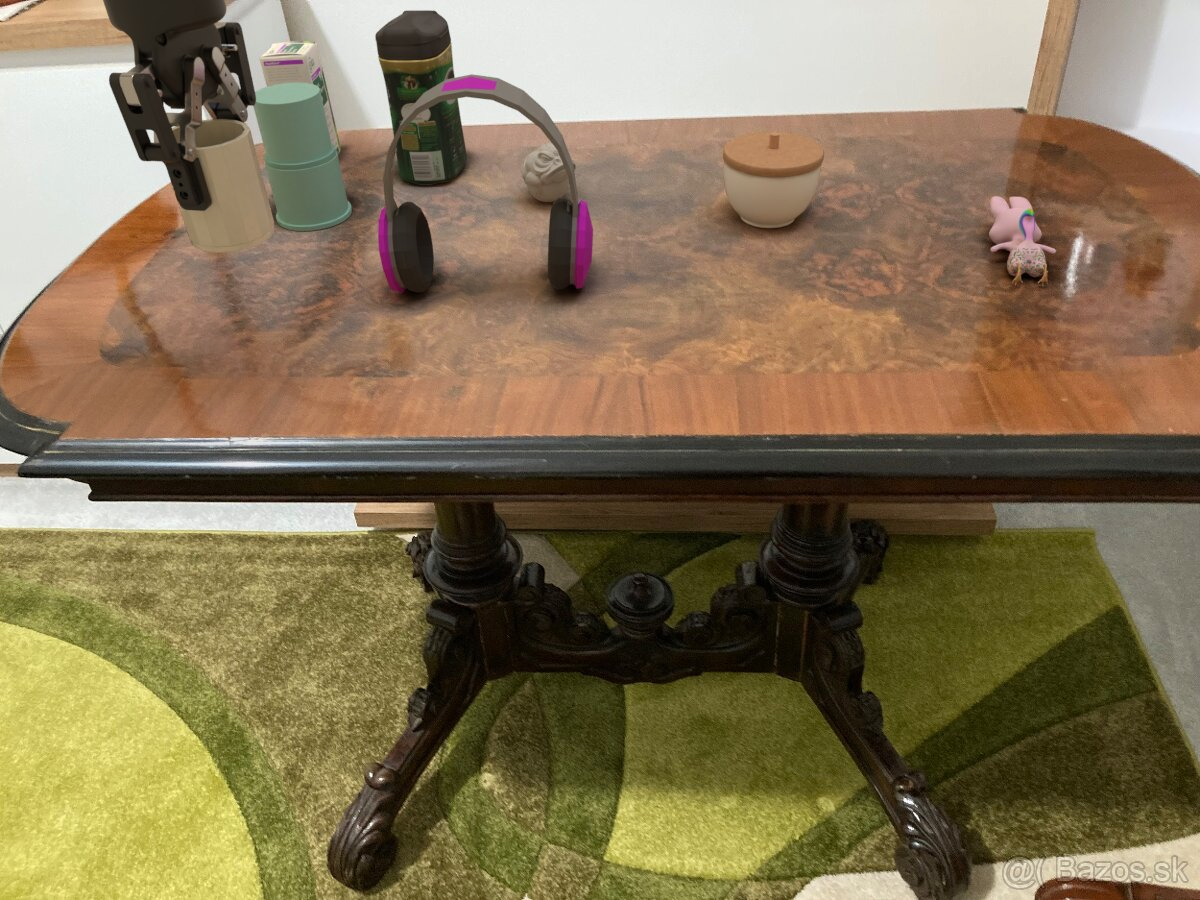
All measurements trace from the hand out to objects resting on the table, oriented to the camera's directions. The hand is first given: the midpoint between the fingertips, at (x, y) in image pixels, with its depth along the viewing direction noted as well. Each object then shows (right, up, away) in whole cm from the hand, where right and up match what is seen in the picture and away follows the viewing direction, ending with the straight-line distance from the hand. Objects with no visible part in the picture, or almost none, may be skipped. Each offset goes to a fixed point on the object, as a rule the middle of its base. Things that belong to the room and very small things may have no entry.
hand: (220, 188), depth 70 cm
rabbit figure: (+72, 0, +25) cm, 76 cm away
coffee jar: (+8, +15, +46) cm, 49 cm away
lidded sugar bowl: (+48, +6, +33) cm, 59 cm away
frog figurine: (+23, +9, +38) cm, 46 cm away
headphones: (+18, -4, +23) cm, 29 cm away
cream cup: (0, -3, +2) cm, 4 cm away
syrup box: (-8, +17, +50) cm, 53 cm away
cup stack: (-4, +7, +37) cm, 38 cm away
